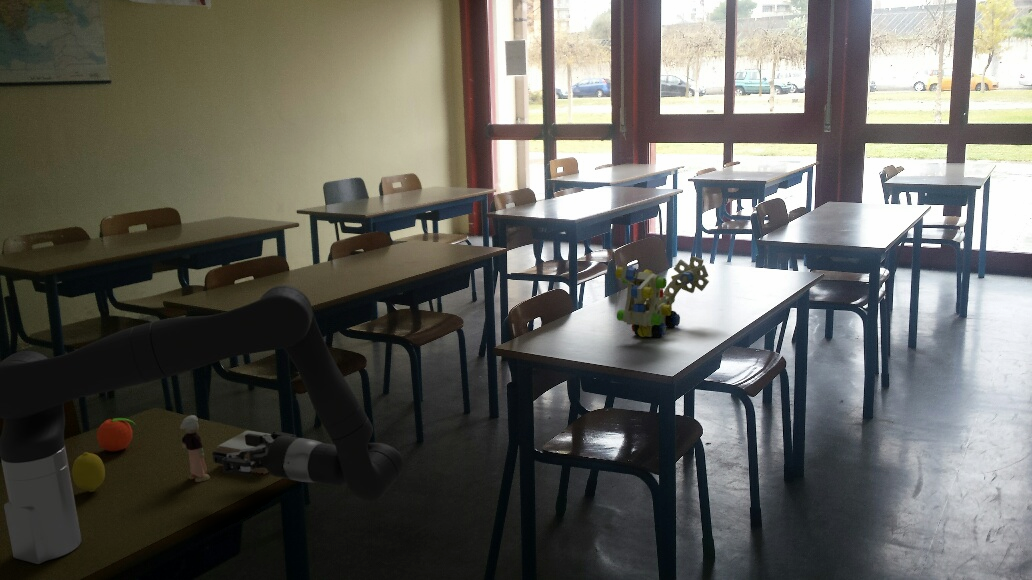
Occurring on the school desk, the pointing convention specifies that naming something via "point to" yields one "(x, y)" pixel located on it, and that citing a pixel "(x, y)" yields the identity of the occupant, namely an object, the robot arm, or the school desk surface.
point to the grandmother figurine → (194, 449)
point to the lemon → (88, 471)
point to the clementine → (114, 434)
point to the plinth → (240, 447)
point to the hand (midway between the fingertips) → (230, 447)
